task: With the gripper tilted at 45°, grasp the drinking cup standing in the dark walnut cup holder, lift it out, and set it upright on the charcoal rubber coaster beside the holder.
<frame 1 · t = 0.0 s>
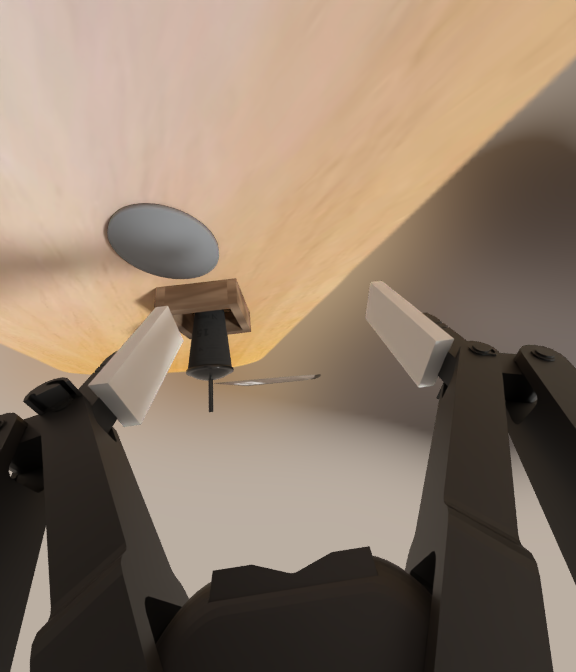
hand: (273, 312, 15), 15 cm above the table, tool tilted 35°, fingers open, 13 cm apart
cup holder: (209, 302, 42), on the table
drinking cup: (209, 301, 42), resting in cup holder
coaster: (169, 246, 28), on the table
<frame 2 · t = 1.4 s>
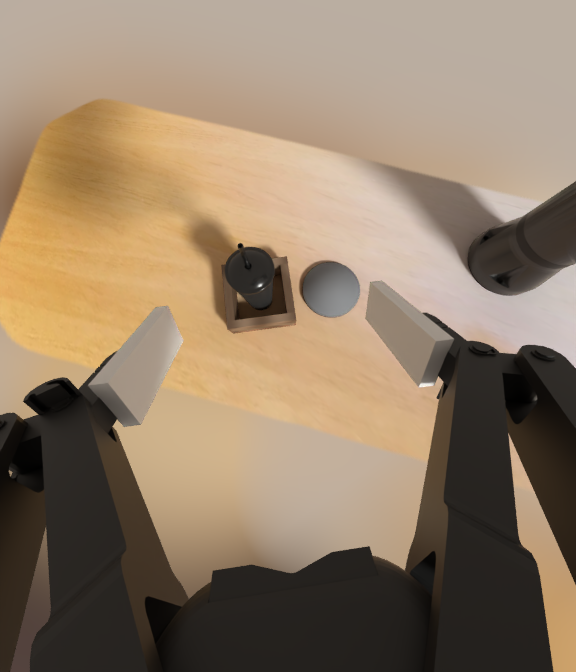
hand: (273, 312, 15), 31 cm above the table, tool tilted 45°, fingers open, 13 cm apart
cup holder: (260, 299, 47), on the table
drinking cup: (261, 299, 47), resting in cup holder
coaster: (330, 290, 47), on the table
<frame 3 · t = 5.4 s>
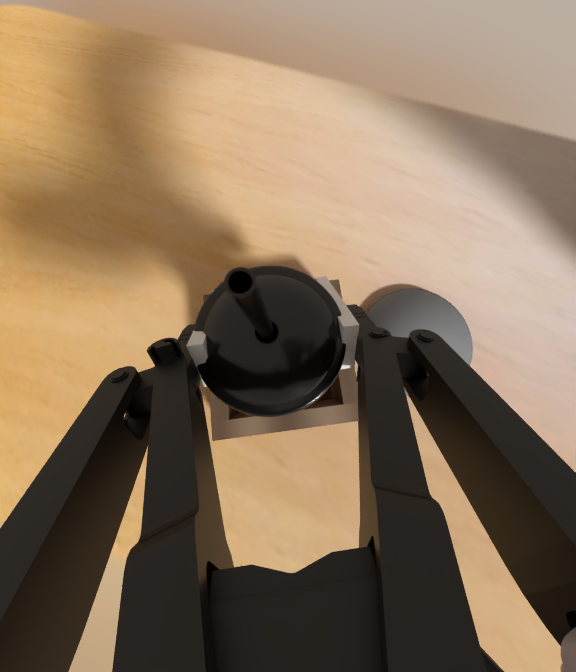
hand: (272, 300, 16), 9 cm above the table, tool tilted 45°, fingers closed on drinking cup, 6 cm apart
cup holder: (280, 358, 24), on the table
drinking cup: (281, 358, 24), resting in cup holder, touching gripper
coaster: (413, 341, 25), on the table
when the fingers open (11 cm above the table, at t = 11.6 s): drinking cup drops 1 cm, resting on coaster.
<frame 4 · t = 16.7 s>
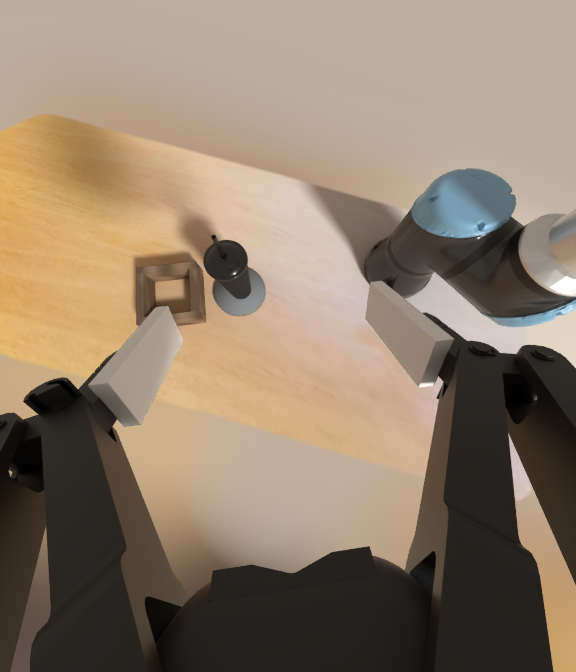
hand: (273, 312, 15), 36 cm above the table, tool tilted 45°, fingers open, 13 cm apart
cup holder: (176, 299, 52), on the table
drinking cup: (241, 290, 52), point 1 cm above the table, touching coaster
coaster: (240, 291, 52), on the table
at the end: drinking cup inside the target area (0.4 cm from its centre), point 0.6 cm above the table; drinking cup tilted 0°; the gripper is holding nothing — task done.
